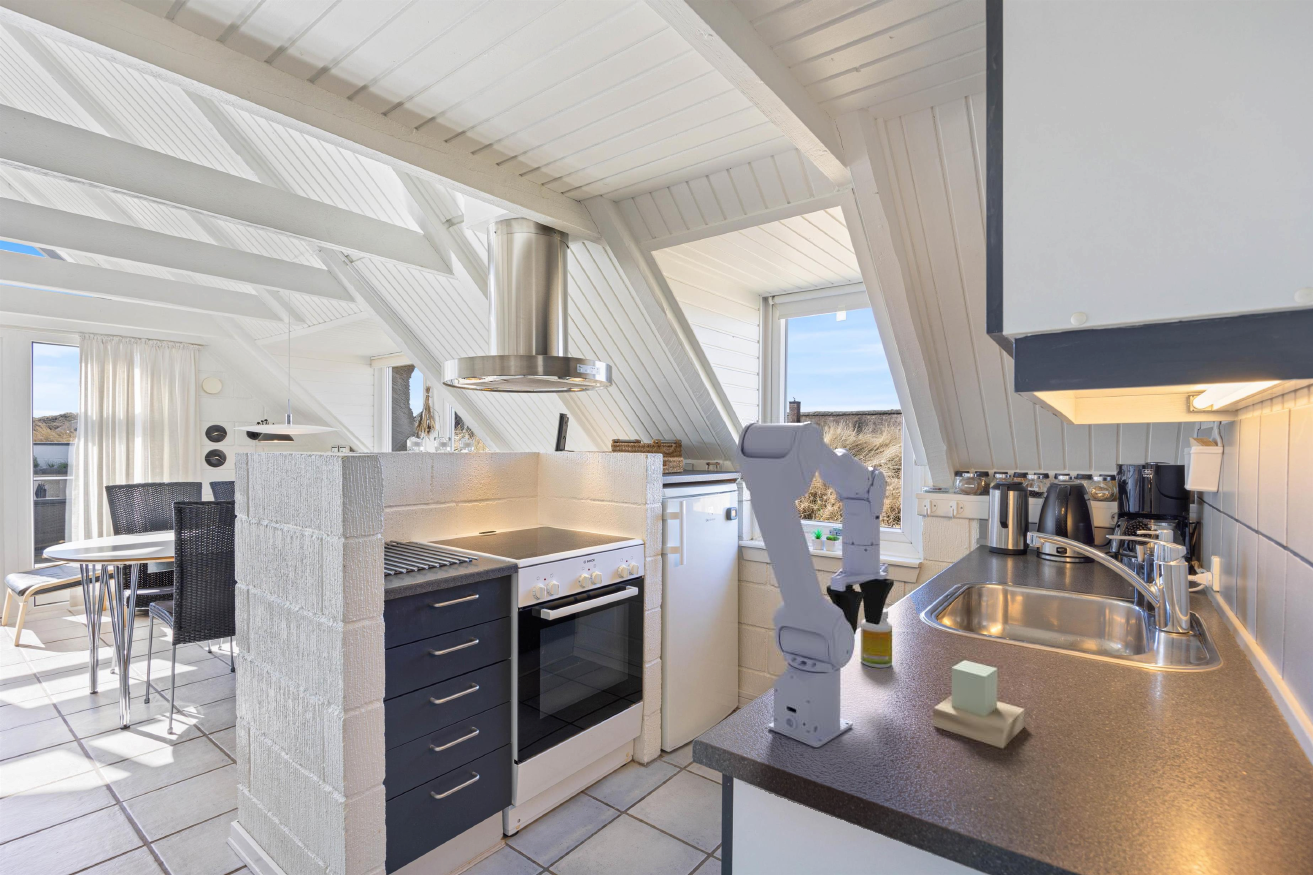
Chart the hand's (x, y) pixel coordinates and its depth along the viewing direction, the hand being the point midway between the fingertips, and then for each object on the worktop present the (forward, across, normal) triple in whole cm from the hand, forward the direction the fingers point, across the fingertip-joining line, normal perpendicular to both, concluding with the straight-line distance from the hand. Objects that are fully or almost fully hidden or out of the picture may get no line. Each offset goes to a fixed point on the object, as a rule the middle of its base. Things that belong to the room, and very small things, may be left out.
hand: (860, 628), depth 101 cm
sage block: (+8, +2, -16) cm, 18 cm away
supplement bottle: (+11, +15, +5) cm, 19 cm away
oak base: (+11, +2, -17) cm, 20 cm away
